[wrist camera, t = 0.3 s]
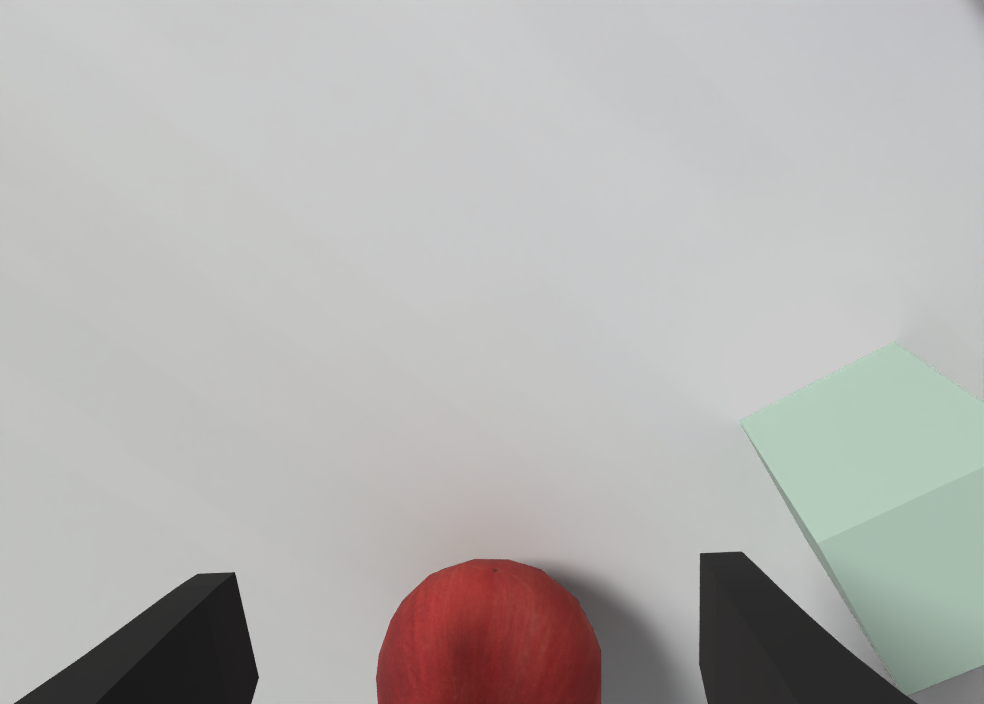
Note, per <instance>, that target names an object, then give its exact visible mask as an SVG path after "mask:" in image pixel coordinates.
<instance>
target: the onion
mask: <svg viewBox="0 0 984 704" xmlns="http://www.w3.org/2000/svg"><path fill="white" fill-rule="evenodd" d="M376 682H377V697H378V704H601V650H600V647H599V644H598V641H597V638H596V636H595V633H594V630H593V628H592V626H591V624H590V622H589V620H588V619H587V617H586V615H585V613H584V611H583V609H582V607H581V606H580V604H579V602H578V600H577V599H576V598H575V597H574V596H573V595H571V594H570V593H569V592H568V591H567V590H566V589H565V588H563V587H562V586H561V585H560V584H558V583H557V582H556V581H555V580H553V579H552V578H551V577H550V576H548V575H547V574H546V573H545V572H543V571H542V570H541V569H538V568H535V567H531V566H528V565H525V564H521V563H518V562H515V561H511V560H501V559H473V560H470V561H467V562H464V563H461V564H457V565H454V566H451V567H448V568H445V569H442V570H440V571H438V572H435V573H433V574H431V575H429V576H428V577H427V578H426V579H425V580H424V581H423V582H421V583H420V584H419V585H418V586H417V587H416V588H415V589H414V590H413V591H412V592H411V593H410V594H409V595H408V596H407V597H406V598H405V599H404V600H403V601H402V602H401V604H400V606H399V607H398V609H397V611H396V612H395V614H394V616H393V617H392V619H391V621H390V624H389V627H388V630H387V633H386V636H385V639H384V641H383V644H382V647H381V650H380V653H379V659H378V667H377V676H376Z"/></svg>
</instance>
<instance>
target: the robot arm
mask: <svg viewBox="0 0 984 704" xmlns="http://www.w3.org/2000/svg"><path fill="white" fill-rule="evenodd" d="M699 665H700V670H701V674H702V679H703V684H704V688H705V693H706V698H707V702H708V704H917V703H916V702H914V701H913V700H912V699H910V698H909V697H907V696H906V695H905V694H903V693H902V692H901V691H899V690H898V689H897V688H895V687H894V686H893V685H891V684H890V683H889V682H888V681H886V680H885V679H884V678H882V677H881V676H880V675H879V674H877V673H876V672H875V671H874V670H872V669H871V668H870V667H869V666H867V665H866V664H865V663H863V662H862V661H861V660H860V659H858V658H857V657H856V656H855V655H854V654H852V653H851V652H850V651H849V650H848V649H846V648H845V647H844V646H843V645H842V644H841V643H839V642H838V641H837V640H836V639H835V638H834V637H833V636H832V635H830V634H829V633H828V632H827V631H826V630H825V629H824V628H822V627H821V626H820V625H819V624H818V623H817V622H816V621H815V620H813V619H812V618H811V617H810V616H809V615H808V614H807V613H806V612H805V611H804V610H802V609H801V608H800V607H799V606H798V605H797V604H796V603H795V602H794V601H793V600H792V599H791V598H790V597H789V596H788V595H787V594H786V593H784V592H783V591H782V590H781V589H780V588H779V587H778V586H777V585H776V584H775V583H774V582H773V581H772V580H771V579H770V578H769V577H768V576H767V575H766V574H765V573H764V572H763V571H762V570H761V569H760V568H759V567H758V566H757V565H755V564H754V563H753V562H752V561H751V560H750V559H749V558H748V557H747V556H746V555H745V554H744V553H743V552H721V553H700V642H699ZM258 679H259V676H258V672H257V667H256V663H255V659H254V654H253V650H252V645H251V641H250V637H249V632H248V628H247V623H246V619H245V614H244V610H243V606H242V601H241V597H240V592H239V588H238V584H237V579H236V575H235V572H232V573H207V574H197V575H195V576H194V577H192V578H190V579H189V580H187V581H186V582H184V583H183V584H181V585H180V586H178V587H177V588H175V589H174V590H173V591H171V592H170V593H168V594H167V595H166V596H164V597H163V598H161V599H160V600H159V601H157V602H156V603H155V604H153V605H152V606H151V607H149V608H148V609H147V610H145V611H144V612H142V613H141V614H140V615H138V616H137V617H136V618H134V619H133V620H132V621H130V622H129V623H128V624H126V625H125V626H124V627H122V628H121V629H119V630H118V631H117V632H115V633H114V634H113V635H111V636H110V637H109V638H107V639H106V640H104V641H103V642H102V643H100V644H99V645H98V646H96V647H95V648H94V649H92V650H91V651H89V652H88V653H87V654H85V655H84V656H83V657H81V658H80V659H78V660H77V661H75V662H74V663H72V664H71V665H70V666H68V667H67V668H65V669H64V670H62V671H61V672H59V673H58V674H56V675H55V676H54V677H52V678H51V679H49V680H48V681H46V682H45V683H43V684H42V685H40V686H39V687H37V688H36V689H35V690H33V691H32V692H30V693H29V694H27V695H26V696H24V697H23V698H21V699H20V700H18V701H17V702H16V703H14V704H251V702H252V699H253V696H254V692H255V689H256V685H257V682H258Z"/></svg>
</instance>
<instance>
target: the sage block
mask: <svg viewBox="0 0 984 704" xmlns="http://www.w3.org/2000/svg"><path fill="white" fill-rule="evenodd" d="M739 422H740V423H741V425H742V427H743V429H744V430H745V432H746V434H747V436H748V438H749V439H750V441H751V443H752V445H753V446H754V448H755V450H756V452H757V453H758V455H759V457H760V459H761V460H762V462H763V464H764V466H765V468H766V469H767V471H768V473H769V475H770V476H771V478H772V480H773V482H774V483H775V485H776V487H777V489H778V490H779V492H780V494H781V496H782V498H783V499H784V501H785V503H786V505H787V506H788V508H789V510H790V512H791V513H792V515H793V517H794V519H795V521H796V522H797V524H798V526H799V528H800V529H801V531H802V533H803V535H804V536H805V538H806V540H807V542H808V543H809V545H810V547H811V548H812V550H813V551H814V553H815V555H816V556H817V558H818V559H819V561H820V563H821V564H822V566H823V568H824V569H825V571H826V572H827V574H828V576H829V577H830V579H831V580H832V582H833V584H834V585H835V587H836V589H837V590H838V592H839V593H840V595H841V597H842V598H843V600H844V601H845V603H846V605H847V606H848V608H849V610H850V611H851V613H852V614H853V616H854V618H855V619H856V621H857V622H858V624H859V626H860V627H861V629H862V631H863V632H864V634H865V635H866V637H867V639H868V640H869V642H870V643H871V645H872V647H873V648H874V650H875V652H876V653H877V655H878V656H879V658H880V660H881V661H882V663H883V664H884V666H885V668H886V669H887V671H888V673H889V674H890V676H891V677H892V679H893V681H894V682H895V684H896V685H897V687H898V689H899V690H900V691H901V692H902V693H903V694H905V695H906V696H908V695H910V694H913V693H915V692H918V691H920V690H923V689H925V688H928V687H930V686H933V685H935V684H938V683H940V682H943V681H945V680H948V679H950V678H953V677H955V676H958V675H960V674H962V673H965V672H967V671H970V670H972V669H975V668H977V667H980V666H982V665H984V402H983V401H982V400H980V399H979V398H977V397H976V396H974V395H973V394H971V393H970V392H969V391H967V390H966V389H964V388H963V387H961V386H960V385H958V384H957V383H955V382H954V381H952V380H951V379H949V378H948V377H946V376H945V375H944V374H942V373H941V372H939V371H938V370H936V369H935V368H933V367H932V366H930V365H929V364H927V363H926V362H924V361H923V360H922V359H920V358H919V357H917V356H916V355H914V354H913V353H911V352H910V351H908V350H907V349H905V348H904V347H902V346H901V345H900V344H898V343H897V342H895V341H894V342H892V343H891V344H889V345H887V346H885V347H883V348H881V349H879V350H877V351H875V352H873V353H871V354H869V355H867V356H865V357H863V358H861V359H859V360H857V361H855V362H853V363H851V364H849V365H847V366H845V367H843V368H841V369H839V370H838V371H836V372H834V373H832V374H830V375H828V376H826V377H824V378H822V379H820V380H818V381H816V382H814V383H812V384H810V385H808V386H806V387H804V388H802V389H800V390H798V391H796V392H794V393H792V394H790V395H788V396H786V397H784V398H783V399H781V400H779V401H777V402H775V403H773V404H771V405H769V406H767V407H765V408H763V409H761V410H759V411H757V412H755V413H753V414H751V415H749V416H747V417H745V418H743V419H741V420H739Z"/></svg>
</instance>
